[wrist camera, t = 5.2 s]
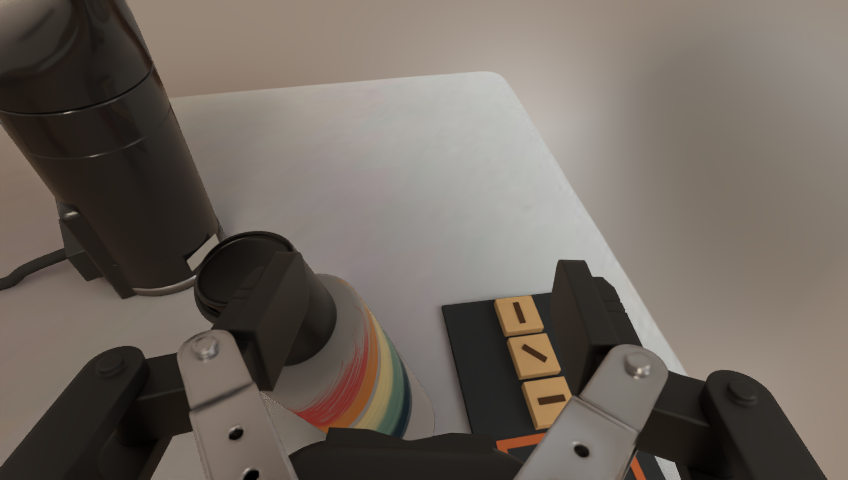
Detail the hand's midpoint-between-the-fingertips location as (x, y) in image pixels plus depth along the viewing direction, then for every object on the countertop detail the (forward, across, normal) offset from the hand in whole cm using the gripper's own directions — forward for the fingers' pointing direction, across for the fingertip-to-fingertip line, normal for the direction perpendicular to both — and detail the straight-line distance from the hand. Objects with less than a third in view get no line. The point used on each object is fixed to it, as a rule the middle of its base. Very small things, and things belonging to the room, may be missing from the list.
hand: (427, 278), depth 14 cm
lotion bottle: (+8, +3, +19) cm, 20 cm away
